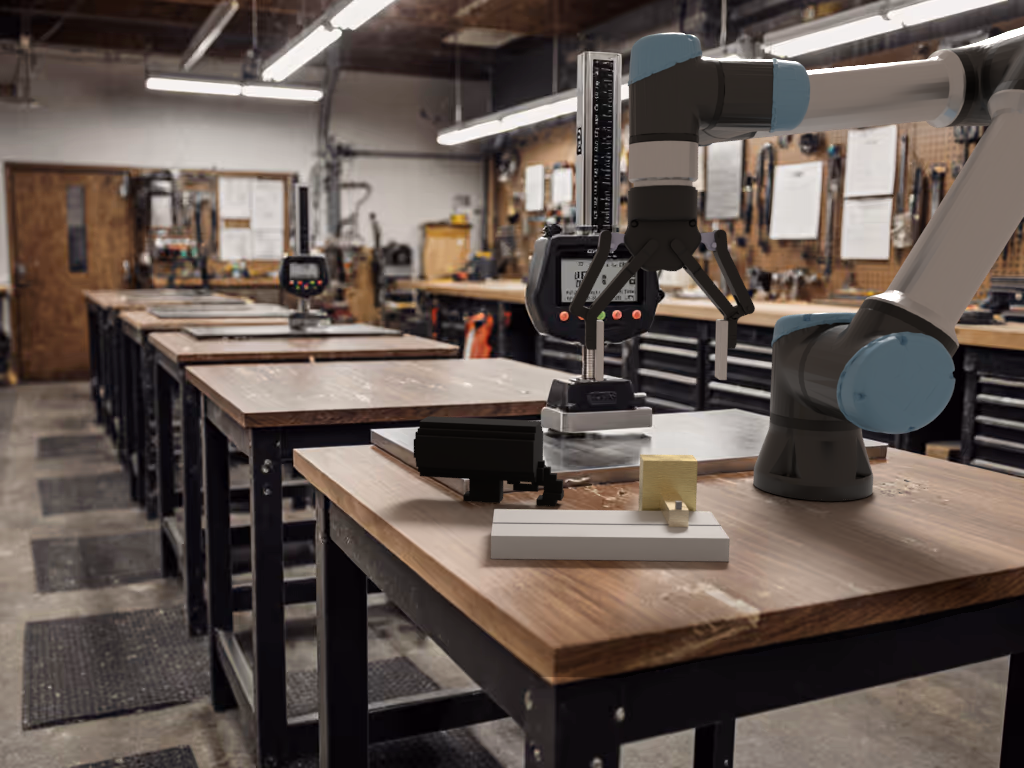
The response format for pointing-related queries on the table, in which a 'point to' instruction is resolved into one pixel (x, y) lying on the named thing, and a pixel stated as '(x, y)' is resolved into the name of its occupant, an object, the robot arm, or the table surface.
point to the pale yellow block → (668, 486)
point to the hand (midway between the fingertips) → (659, 379)
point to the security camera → (487, 456)
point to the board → (605, 536)
